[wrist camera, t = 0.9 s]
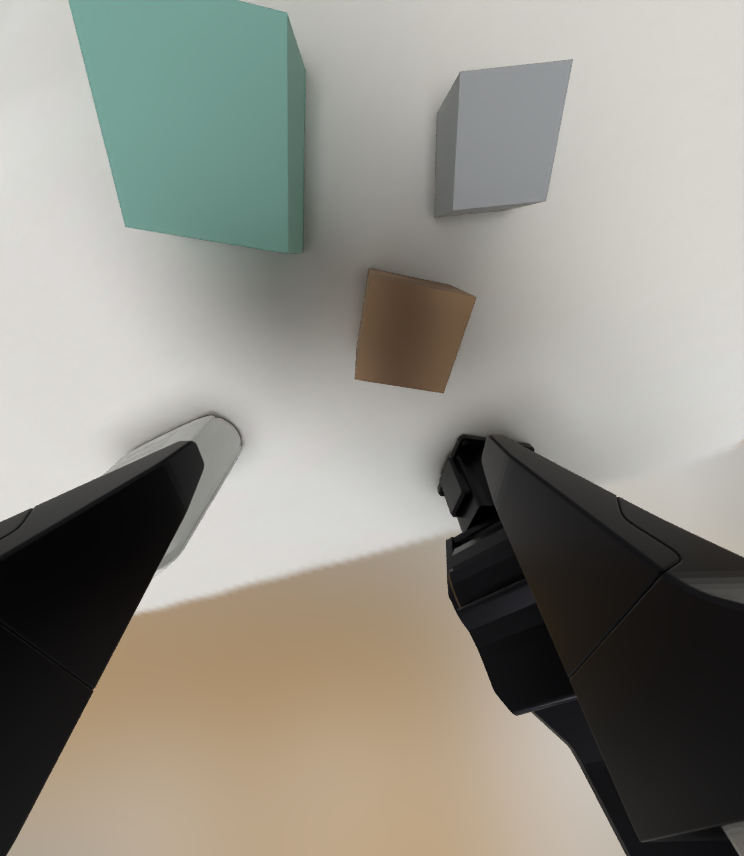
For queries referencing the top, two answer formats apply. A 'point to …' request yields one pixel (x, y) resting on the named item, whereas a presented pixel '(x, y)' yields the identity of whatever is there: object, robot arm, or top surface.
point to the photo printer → (219, 457)
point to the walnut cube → (410, 331)
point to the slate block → (499, 137)
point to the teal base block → (200, 116)
